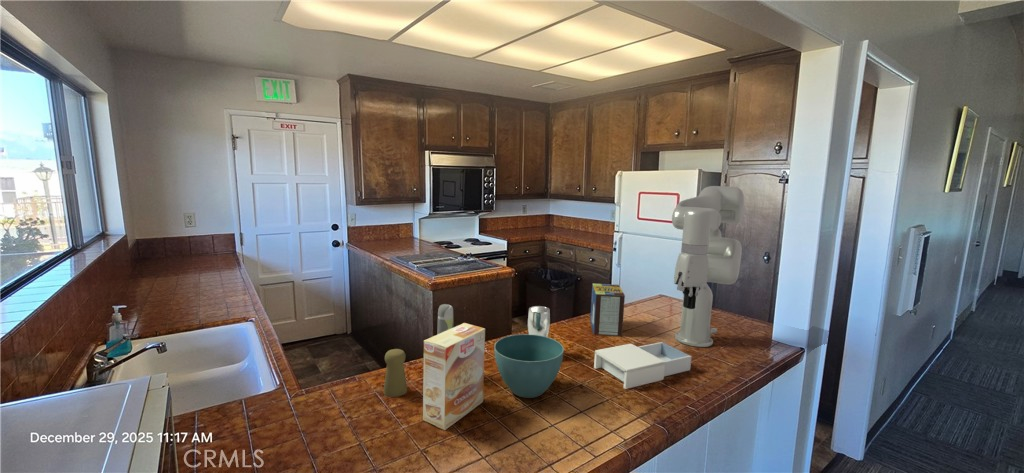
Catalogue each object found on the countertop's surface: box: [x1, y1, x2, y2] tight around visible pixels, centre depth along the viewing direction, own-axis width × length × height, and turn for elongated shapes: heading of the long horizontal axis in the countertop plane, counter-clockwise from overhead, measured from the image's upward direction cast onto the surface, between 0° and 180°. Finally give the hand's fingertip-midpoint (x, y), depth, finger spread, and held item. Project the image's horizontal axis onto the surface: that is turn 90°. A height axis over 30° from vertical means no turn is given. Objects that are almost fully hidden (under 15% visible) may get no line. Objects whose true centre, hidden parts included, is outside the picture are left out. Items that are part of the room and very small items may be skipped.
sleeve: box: [593, 343, 665, 390], centre depth 126 cm, size 14×14×6 cm
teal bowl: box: [493, 333, 565, 399], centre depth 113 cm, size 18×18×12 cm
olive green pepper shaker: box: [382, 348, 408, 398], centre depth 111 cm, size 6×6×11 cm
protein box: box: [589, 283, 626, 337], centre depth 162 cm, size 10×15×16 cm
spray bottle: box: [436, 303, 455, 335], centre depth 121 cm, size 5×5×20 cm
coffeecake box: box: [422, 322, 486, 431], centre depth 102 cm, size 15×7×20 cm, turn 148°
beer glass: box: [527, 305, 551, 337], centre depth 136 cm, size 7×7×15 cm
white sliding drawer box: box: [601, 341, 692, 383], centre depth 129 cm, size 24×12×4 cm, turn 116°
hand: (688, 307), depth 133 cm, fingers closed
